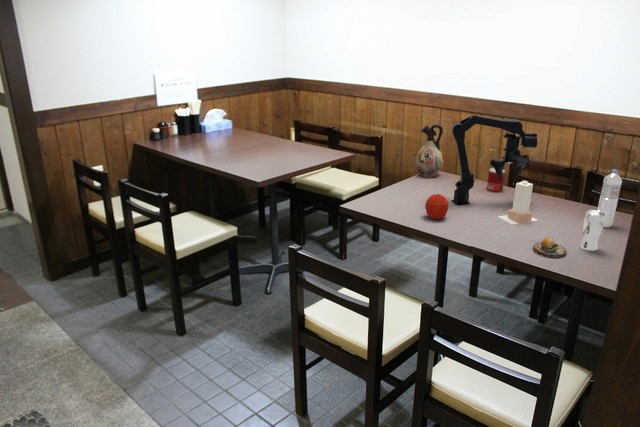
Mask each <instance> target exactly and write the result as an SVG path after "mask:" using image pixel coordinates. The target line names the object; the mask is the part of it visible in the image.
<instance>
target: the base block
mask: <svg viewBox="0 0 640 427" xmlns="http://www.w3.org/2000/svg"><path fill="white" fill-rule="evenodd" d="M507 215H508V218H510V219H512V220H514V221H515V222H517V223H519V224H522V223H521V222H525V223H528V222H527V221H531V219H532V217H533V213H532V212H530V211H529V212H528V213H525V214H523V215H522V214H519V213H516V212H513V211H512V209H509V210H508V212H507ZM531 222H532V221H531Z"/></svg>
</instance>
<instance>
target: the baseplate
mask: <svg viewBox="0 0 640 427" xmlns="http://www.w3.org/2000/svg"><path fill="white" fill-rule="evenodd" d="M497 218H498V219H501V220H503V221H505V222H507V223H508V224H511V225H517V224H518V225H519V224H523V223H524V224H525V223H530V222H536V221H537V222H538V219H537V218H534V217H533V216H532V219H531V221H527V222H521V223H517V222H515V221H514V220H512V219H510V218H508V214H506V215H504V214H503V215H498V216H497Z"/></svg>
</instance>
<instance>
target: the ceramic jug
mask: <svg viewBox="0 0 640 427" xmlns="http://www.w3.org/2000/svg"><path fill="white" fill-rule="evenodd" d="M435 128H437V129H439V134H438V133H437V132H436V130H435ZM419 132H421V133H423V134H425V135H426V136H427V138H426V141H425V142H424V143H423V144H422V146H421V147H420V148H419V150H418V152H417V154H416V157H415V159H414V160H415V162H414V163H415V168H416V170H417V171H418V173H419V175H420V176H421V177H425V178H434V177H436V176H438V173H439V172H440V171H441V170H442V169H443V164H444V158H443V157H444V156H443V154H442V151H441V147H440V143H439V142H440V141H441V139H442V136H443V134H444V128H443V126H442V124H439V123H433V124H432V125H431V126H429V125H425V126H424V127H423V128H421V129H420V131H419ZM437 135H438V136H437ZM435 136H437V138H436V140H435Z"/></svg>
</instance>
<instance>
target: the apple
mask: <svg viewBox="0 0 640 427" xmlns="http://www.w3.org/2000/svg"><path fill="white" fill-rule="evenodd" d="M449 206H450V203H449V200H448V198H446V197H445V196H444V195H443V194H439V193H435V194H431V195H429V197H428V198H427V199H426V200H425V205H424V207H425V208H424V209H425V212H426V214H427V216H429V217H430V218H432V219H434V220H440V219H443V218H444V217H446V216H447V213H448V212H449V208H450V207H449Z"/></svg>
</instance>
